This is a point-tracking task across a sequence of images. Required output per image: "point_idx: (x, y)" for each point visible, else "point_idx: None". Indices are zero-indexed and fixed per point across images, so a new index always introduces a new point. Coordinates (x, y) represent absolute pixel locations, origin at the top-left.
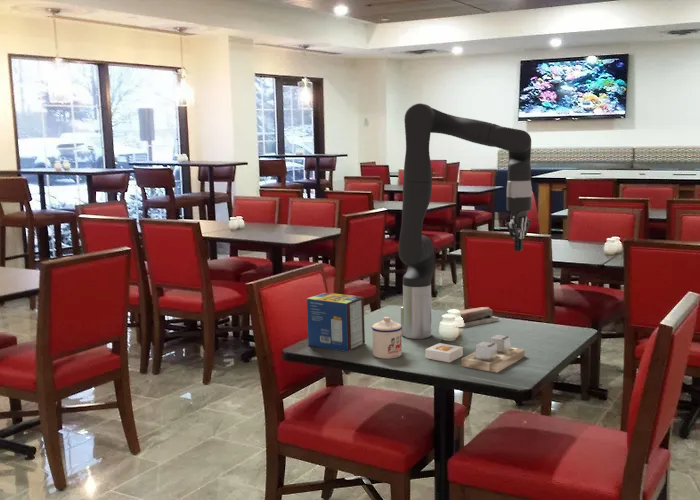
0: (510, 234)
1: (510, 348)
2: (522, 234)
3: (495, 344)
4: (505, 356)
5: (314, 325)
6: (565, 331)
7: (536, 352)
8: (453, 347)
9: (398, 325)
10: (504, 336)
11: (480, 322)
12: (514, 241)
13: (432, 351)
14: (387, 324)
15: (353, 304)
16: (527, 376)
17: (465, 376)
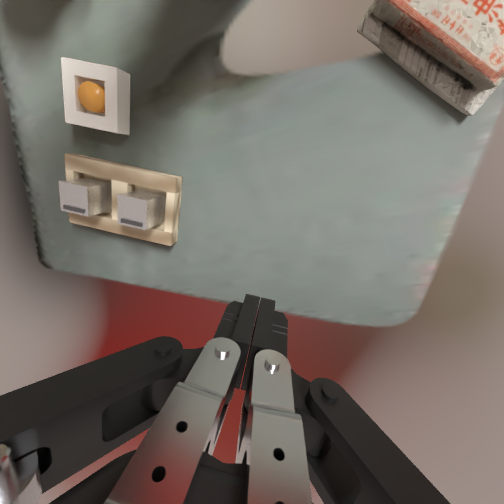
0: (120, 356)
1: (156, 224)
2: (239, 428)
3: (83, 215)
4: (117, 224)
5: None
6: (380, 283)
7: (215, 254)
8: (105, 114)
9: None
10: (140, 218)
11: (416, 75)
12: (235, 327)
13: (63, 78)
14: None
15: None
16: (96, 260)
17: (43, 175)
